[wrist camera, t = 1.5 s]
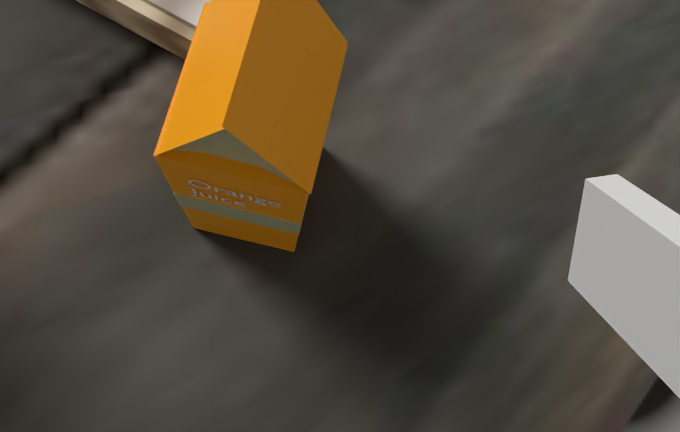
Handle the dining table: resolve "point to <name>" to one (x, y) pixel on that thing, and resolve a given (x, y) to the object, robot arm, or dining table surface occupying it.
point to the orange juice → (252, 117)
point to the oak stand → (155, 19)
